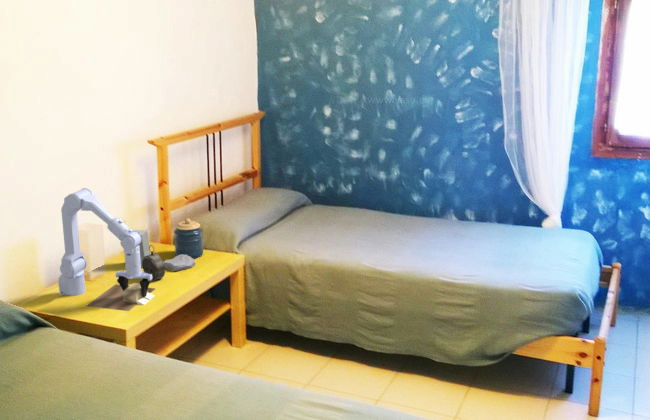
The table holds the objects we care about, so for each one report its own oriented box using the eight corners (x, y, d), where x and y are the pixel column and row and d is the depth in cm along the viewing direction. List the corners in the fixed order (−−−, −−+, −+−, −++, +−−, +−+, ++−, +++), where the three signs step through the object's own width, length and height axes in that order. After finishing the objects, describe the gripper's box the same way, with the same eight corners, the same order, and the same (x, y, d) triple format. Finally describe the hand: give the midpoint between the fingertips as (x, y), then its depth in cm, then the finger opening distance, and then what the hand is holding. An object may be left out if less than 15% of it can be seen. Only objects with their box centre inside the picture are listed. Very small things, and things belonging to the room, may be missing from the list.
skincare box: (151, 263, 312) (149, 229, 307) (144, 268, 305) (142, 234, 300) (134, 261, 313) (131, 228, 309) (126, 267, 306) (124, 233, 302)
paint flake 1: (136, 303, 265) (137, 301, 265) (141, 299, 269) (142, 297, 269) (145, 308, 265) (146, 306, 264) (150, 304, 269) (151, 301, 268)
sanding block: (123, 302, 266) (122, 291, 265) (134, 293, 275) (133, 282, 274) (136, 303, 265) (135, 293, 264) (147, 294, 274) (146, 284, 272)
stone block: (197, 269, 310) (182, 260, 315) (198, 260, 308) (183, 251, 313) (176, 277, 301) (162, 268, 306) (177, 268, 299) (162, 259, 304)
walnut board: (85, 309, 263) (85, 305, 263) (115, 287, 284) (115, 284, 284) (129, 314, 260) (128, 310, 259) (155, 292, 280) (155, 288, 280)
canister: (193, 248, 331) (192, 212, 326) (209, 255, 322) (207, 218, 317) (169, 254, 323) (167, 218, 318) (184, 261, 313) (182, 224, 308)
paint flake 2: (142, 298, 270) (143, 296, 269) (147, 294, 274) (148, 292, 273) (151, 303, 269) (152, 301, 269) (156, 299, 273) (157, 296, 273)
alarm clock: (166, 283, 289) (164, 246, 284) (155, 286, 285) (153, 249, 281) (151, 276, 296) (149, 240, 292) (140, 279, 292) (138, 243, 288)
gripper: (110, 264, 264) (113, 297, 268) (145, 268, 260) (147, 301, 264) (119, 258, 270) (122, 290, 274) (154, 261, 267) (156, 294, 271)
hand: (135, 295), depth 270 cm, fingers open, 7 cm apart
